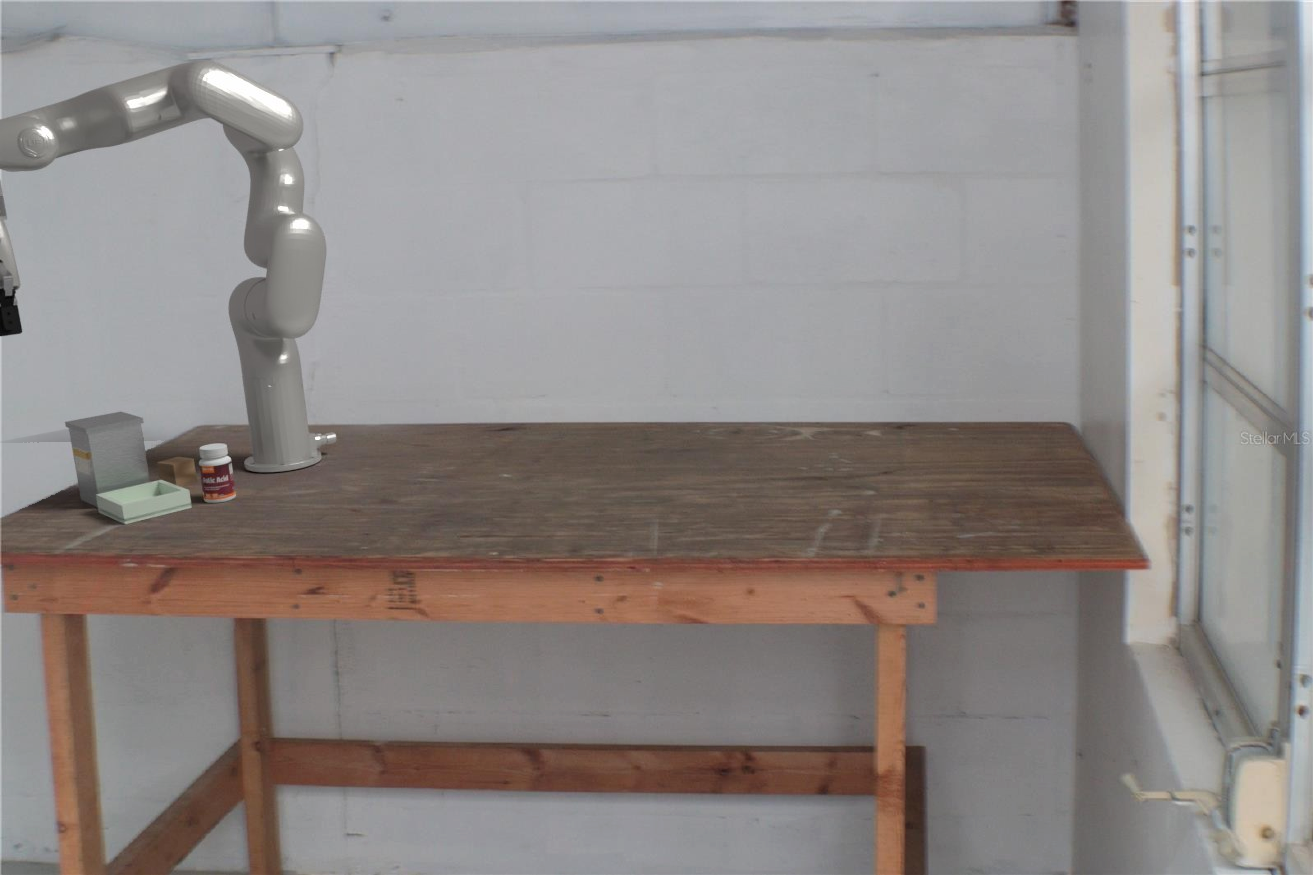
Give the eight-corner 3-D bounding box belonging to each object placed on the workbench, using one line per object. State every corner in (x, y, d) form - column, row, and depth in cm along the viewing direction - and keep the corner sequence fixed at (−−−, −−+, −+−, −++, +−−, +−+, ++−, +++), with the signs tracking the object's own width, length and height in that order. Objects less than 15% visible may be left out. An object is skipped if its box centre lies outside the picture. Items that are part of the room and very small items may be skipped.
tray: (163, 496, 190) (161, 479, 189) (191, 507, 183) (189, 489, 182) (98, 512, 183) (95, 494, 182) (125, 524, 176) (122, 505, 175)
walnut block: (180, 480, 200) (177, 456, 199) (197, 482, 198) (193, 458, 197) (160, 486, 197) (156, 462, 196) (176, 488, 195) (173, 464, 194)
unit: (134, 487, 197) (122, 411, 194) (156, 495, 191) (144, 417, 188) (77, 500, 191) (64, 422, 188) (98, 509, 185) (85, 429, 182)
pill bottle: (202, 505, 184) (195, 451, 182) (205, 497, 188) (197, 444, 186) (235, 501, 185) (228, 447, 183) (237, 493, 190) (230, 441, 188)
